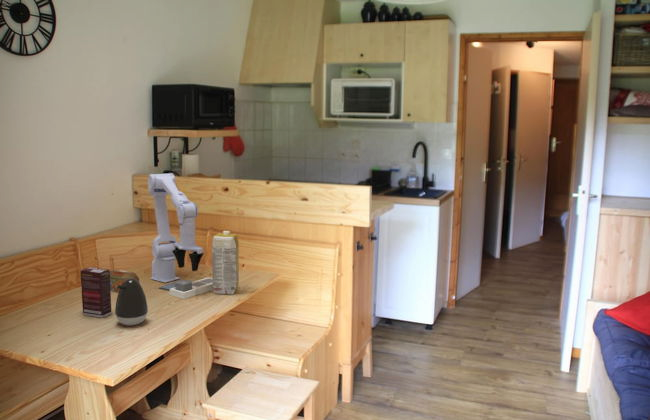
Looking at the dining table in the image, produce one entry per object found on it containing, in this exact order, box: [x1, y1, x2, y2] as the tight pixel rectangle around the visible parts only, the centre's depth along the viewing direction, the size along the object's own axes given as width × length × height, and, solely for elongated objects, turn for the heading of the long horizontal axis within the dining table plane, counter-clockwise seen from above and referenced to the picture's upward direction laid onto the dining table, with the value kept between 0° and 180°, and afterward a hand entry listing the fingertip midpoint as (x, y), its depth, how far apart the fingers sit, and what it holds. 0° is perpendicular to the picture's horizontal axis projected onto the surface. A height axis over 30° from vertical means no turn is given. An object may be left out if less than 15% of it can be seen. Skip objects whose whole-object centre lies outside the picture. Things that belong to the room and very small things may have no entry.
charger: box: [175, 279, 192, 292], centre depth 218 cm, size 4×4×5 cm
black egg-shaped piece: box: [114, 278, 149, 327], centre depth 187 cm, size 10×10×15 cm
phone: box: [158, 278, 194, 292], centre depth 230 cm, size 7×14×1 cm, turn 152°
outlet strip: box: [168, 276, 214, 300], centre depth 225 cm, size 8×24×3 cm, turn 146°
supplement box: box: [80, 266, 112, 319], centre depth 194 cm, size 9×5×16 cm, turn 71°
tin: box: [110, 269, 140, 294], centre depth 220 cm, size 15×3×8 cm, turn 69°
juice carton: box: [211, 230, 240, 295], centre depth 221 cm, size 9×8×24 cm
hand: (188, 268), depth 220 cm, fingers open, 7 cm apart
